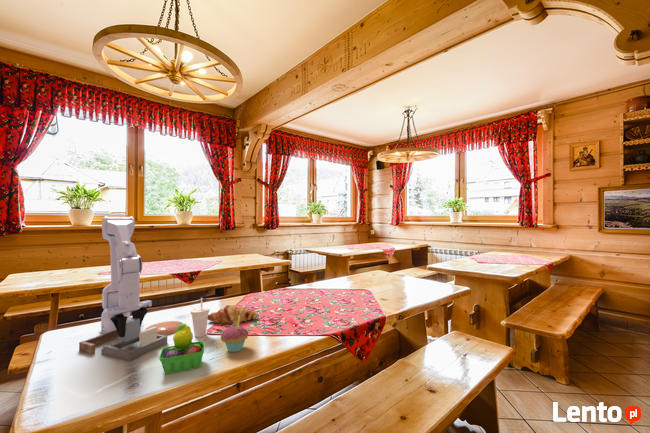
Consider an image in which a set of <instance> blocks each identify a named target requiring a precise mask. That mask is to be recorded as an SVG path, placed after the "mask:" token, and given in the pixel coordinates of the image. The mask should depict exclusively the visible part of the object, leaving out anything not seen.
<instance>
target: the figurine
mask: <svg viewBox="0 0 650 433" xmlns="http://www.w3.org/2000/svg"><path fill="white" fill-rule="evenodd" d="M234 322H235V323H233V324H231V325H230V327H237V318H236V320H235V321H234Z"/></svg>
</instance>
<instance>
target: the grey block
mask: <svg viewBox="0 0 650 433" xmlns="http://www.w3.org/2000/svg"><path fill="white" fill-rule="evenodd" d="M139 332H141V327H140V319H138V318H133V317H131V316H130V318H127V320H126V325H125V336H124V337H118V338H117V341H120V342H121V341H125V342H127V341H130V340H132V339H135V338H137V337H139Z"/></svg>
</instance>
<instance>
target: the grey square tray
mask: <svg viewBox="0 0 650 433" xmlns="http://www.w3.org/2000/svg"><path fill="white" fill-rule="evenodd" d="M137 341H138V342H139V343H138V344H139V346H138V347H135V348H133V349H131V350H128V349H124V348H122V347H125V346H127V345H130V344H131V343H134V342H137ZM167 344H168V335H160V334H157V327H152V328H149V329H147V330H145V329H144V330H140V332H139V337H137V338H135V339H132V340H130V341H127V342H125V341H121V340H120V341H119V342H118V341H117V342H116V343H113V344H111V345H109V344H106V345H104V346H103V347H102V348H101V355H105V356H108V357H112V358H116V359H119V360H123V361H128V362H130V361H132V360H133V359H137V358H139V357H142V356H144V355H146V354H148V353H150V352H152V351H154V350H156V349H158V348H160V347H163V346H165V345H167Z"/></svg>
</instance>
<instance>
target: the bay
mask: <svg viewBox="0 0 650 433" xmlns="http://www.w3.org/2000/svg"><path fill="white" fill-rule="evenodd" d="M116 339H118V333H117V330H114V331H111V332H108V333H105V334H104V333H102V334H100V335H97V336H94V337H91V338H88V339H85V340H83V341H80V342H79V344H78V346H79V348H78V351H79V352H82V353H84V354H89V355H93V354H95V353H96V347H97V346H99V345H103V344H105V343H107V342H111V341H113V340H116Z"/></svg>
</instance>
